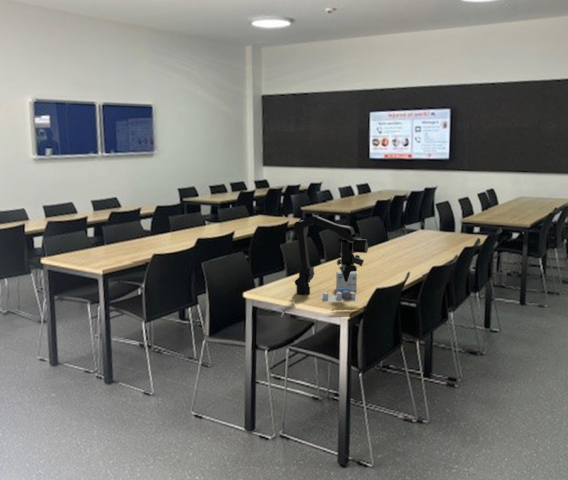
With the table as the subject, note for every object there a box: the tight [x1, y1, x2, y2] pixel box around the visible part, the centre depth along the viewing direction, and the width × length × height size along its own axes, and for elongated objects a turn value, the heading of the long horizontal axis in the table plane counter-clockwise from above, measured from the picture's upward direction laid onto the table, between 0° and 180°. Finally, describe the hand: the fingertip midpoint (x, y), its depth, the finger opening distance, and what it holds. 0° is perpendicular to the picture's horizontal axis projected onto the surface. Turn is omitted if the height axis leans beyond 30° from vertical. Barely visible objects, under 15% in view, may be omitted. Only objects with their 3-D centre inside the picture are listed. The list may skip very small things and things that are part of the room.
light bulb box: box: [335, 270, 358, 292], centre depth 324 cm, size 11×7×11 cm, turn 92°
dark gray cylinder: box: [342, 290, 351, 300], centre depth 305 cm, size 6×4×4 cm, turn 6°
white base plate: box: [319, 288, 359, 303], centre depth 305 cm, size 18×12×5 cm, turn 97°
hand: (346, 281), depth 304 cm, fingers closed
